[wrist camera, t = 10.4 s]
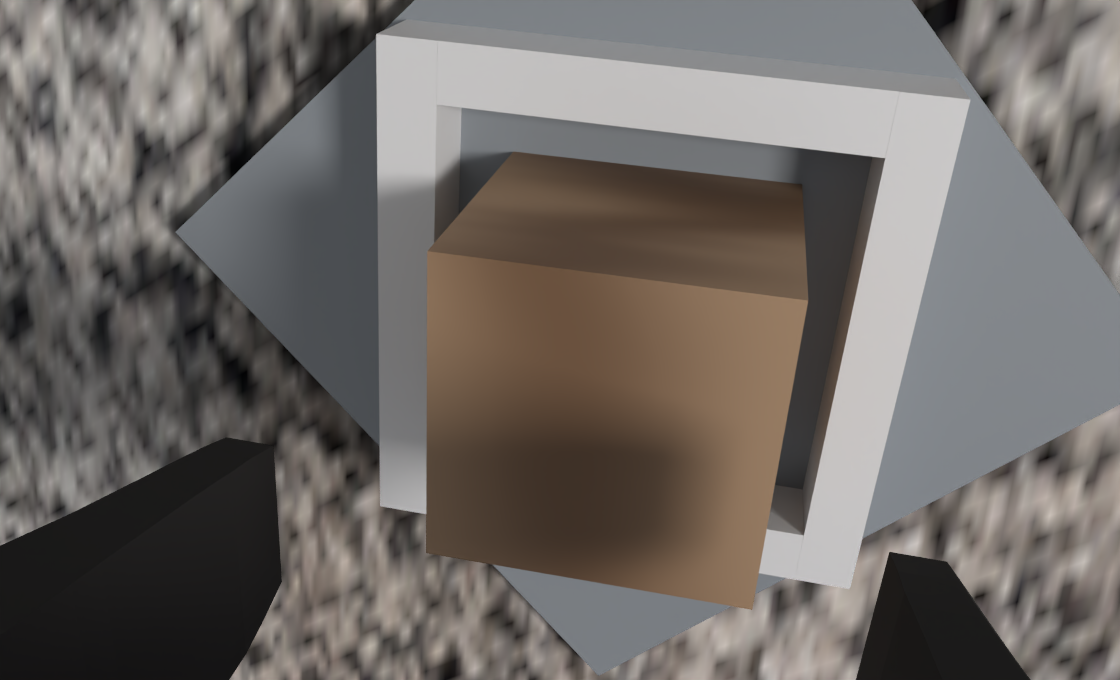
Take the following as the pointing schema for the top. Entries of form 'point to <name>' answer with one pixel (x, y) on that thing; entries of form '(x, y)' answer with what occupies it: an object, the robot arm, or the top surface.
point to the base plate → (714, 148)
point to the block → (613, 373)
